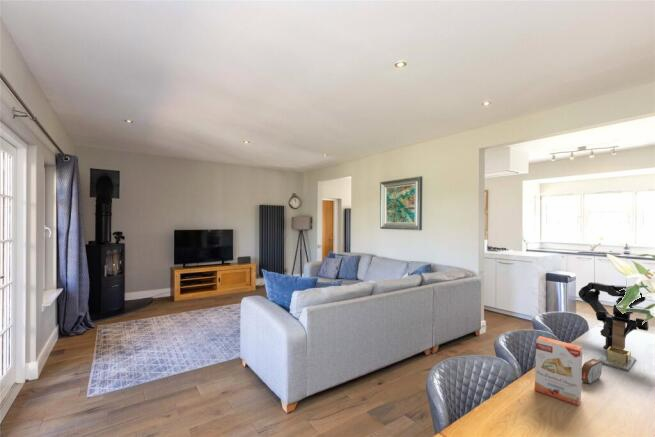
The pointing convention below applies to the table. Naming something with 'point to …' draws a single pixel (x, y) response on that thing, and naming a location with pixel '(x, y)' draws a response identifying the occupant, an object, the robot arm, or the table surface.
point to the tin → (591, 371)
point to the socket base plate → (617, 358)
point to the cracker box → (558, 369)
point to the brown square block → (618, 335)
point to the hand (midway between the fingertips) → (618, 334)
